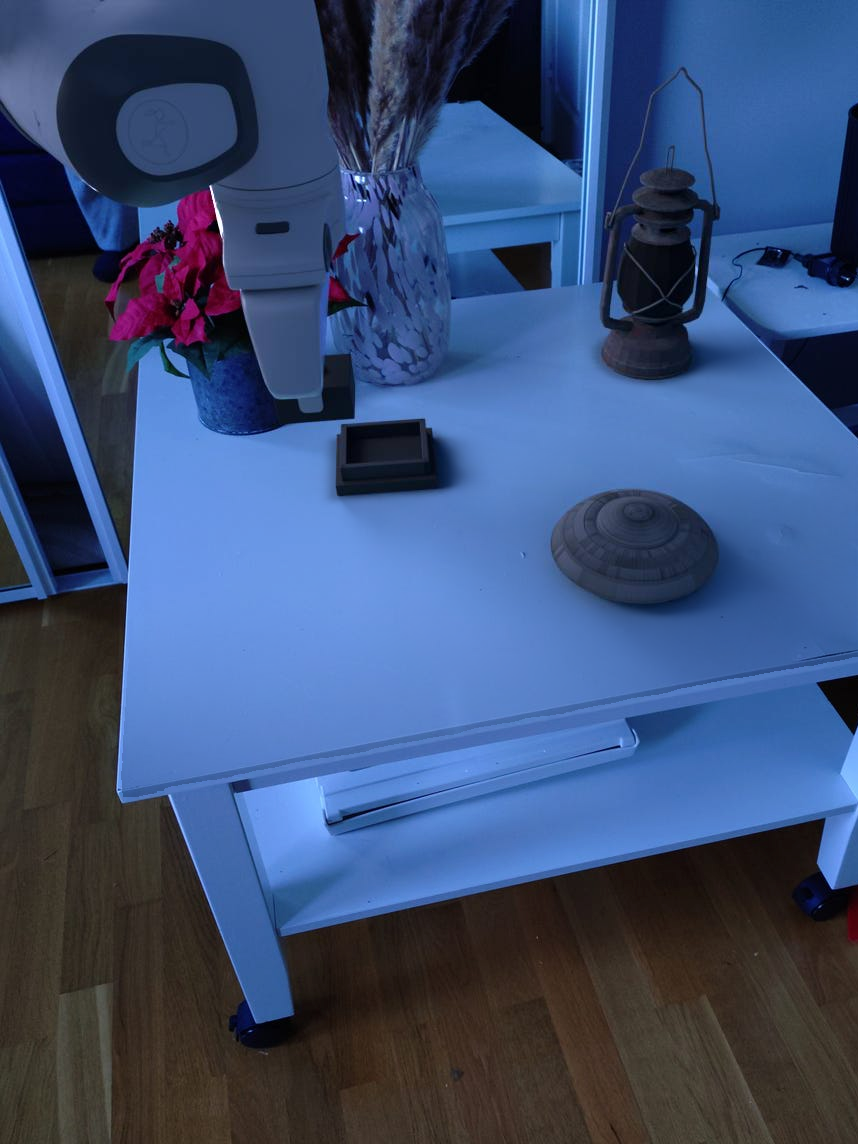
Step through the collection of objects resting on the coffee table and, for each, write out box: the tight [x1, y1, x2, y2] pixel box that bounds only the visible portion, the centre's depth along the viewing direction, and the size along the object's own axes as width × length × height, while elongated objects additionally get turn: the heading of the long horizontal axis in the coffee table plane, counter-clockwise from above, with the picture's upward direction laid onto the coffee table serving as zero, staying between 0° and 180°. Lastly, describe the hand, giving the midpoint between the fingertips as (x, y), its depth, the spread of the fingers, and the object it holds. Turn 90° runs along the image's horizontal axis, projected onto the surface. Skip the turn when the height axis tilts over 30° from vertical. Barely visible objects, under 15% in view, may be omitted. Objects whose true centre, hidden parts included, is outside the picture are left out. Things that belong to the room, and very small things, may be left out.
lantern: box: [599, 66, 721, 380], centre depth 98 cm, size 12×11×30 cm
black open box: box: [335, 418, 439, 496], centre depth 94 cm, size 10×9×3 cm
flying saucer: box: [550, 488, 720, 605], centre depth 83 cm, size 15×15×6 cm
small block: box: [272, 353, 356, 426], centre depth 75 cm, size 6×5×3 cm
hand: (314, 386), depth 74 cm, fingers closed on small block, 5 cm apart
